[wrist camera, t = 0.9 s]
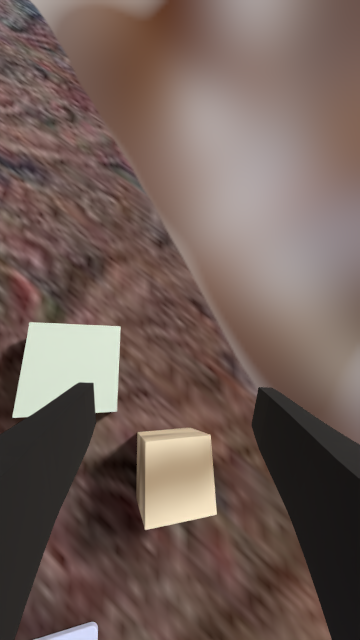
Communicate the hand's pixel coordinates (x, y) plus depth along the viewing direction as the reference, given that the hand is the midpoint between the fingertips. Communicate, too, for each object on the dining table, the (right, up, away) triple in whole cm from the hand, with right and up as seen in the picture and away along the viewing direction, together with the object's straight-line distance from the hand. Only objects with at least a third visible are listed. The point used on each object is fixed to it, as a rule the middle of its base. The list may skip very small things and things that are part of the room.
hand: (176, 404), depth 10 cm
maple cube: (-1, -9, +10) cm, 14 cm away
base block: (-9, -1, +11) cm, 14 cm away
